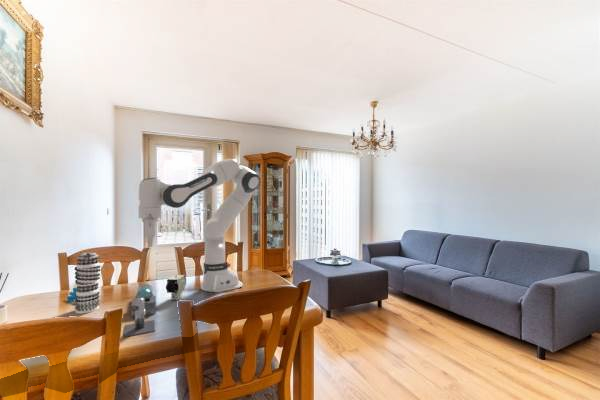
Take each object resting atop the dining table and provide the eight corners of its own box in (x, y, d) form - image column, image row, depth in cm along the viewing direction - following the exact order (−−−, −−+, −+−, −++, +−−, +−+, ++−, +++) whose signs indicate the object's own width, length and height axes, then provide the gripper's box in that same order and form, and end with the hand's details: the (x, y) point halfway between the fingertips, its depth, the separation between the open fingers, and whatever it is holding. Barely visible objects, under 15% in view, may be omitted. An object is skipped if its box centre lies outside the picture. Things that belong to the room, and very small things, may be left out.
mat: (154, 320, 110) (154, 319, 110) (154, 331, 102) (154, 330, 102) (125, 326, 106) (125, 325, 106) (122, 337, 97) (122, 336, 97)
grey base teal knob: (154, 296, 137) (155, 282, 137) (155, 319, 112) (156, 302, 112) (134, 299, 133) (134, 285, 133) (130, 323, 108) (130, 306, 108)
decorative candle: (84, 315, 115) (85, 255, 115) (68, 312, 118) (69, 254, 118) (105, 306, 124) (106, 251, 124) (89, 304, 126) (90, 250, 126)
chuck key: (142, 323, 107) (142, 295, 107) (149, 323, 107) (149, 295, 107) (129, 331, 100) (129, 302, 100) (136, 332, 100) (137, 302, 100)
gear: (62, 296, 132) (81, 279, 137) (73, 302, 135) (91, 285, 140) (69, 305, 125) (89, 286, 130) (80, 311, 129) (99, 292, 134)
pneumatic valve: (165, 303, 129) (165, 278, 129) (177, 294, 140) (177, 271, 140) (176, 303, 129) (177, 278, 129) (187, 295, 140) (188, 271, 140)
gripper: (158, 215, 114) (158, 248, 114) (157, 212, 132) (157, 241, 132) (141, 215, 111) (141, 249, 111) (142, 213, 129) (142, 242, 129)
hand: (150, 244), depth 122 cm, fingers open, 8 cm apart
